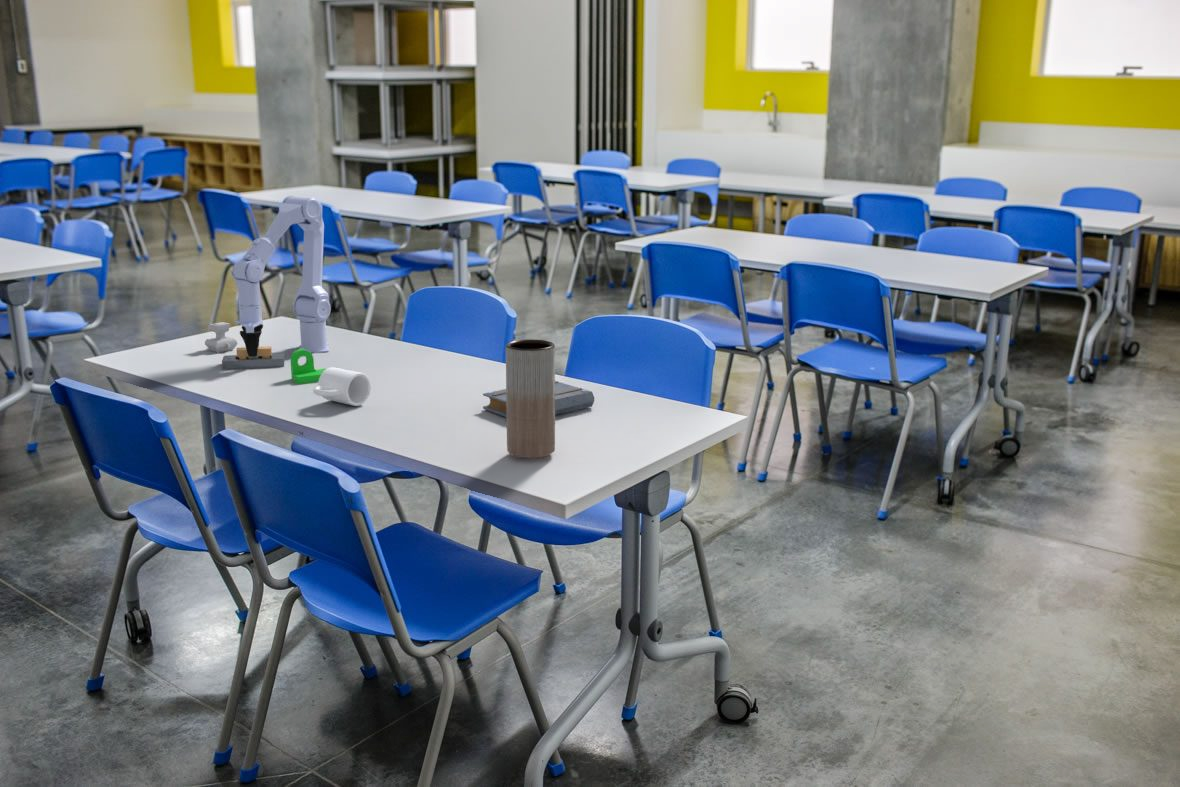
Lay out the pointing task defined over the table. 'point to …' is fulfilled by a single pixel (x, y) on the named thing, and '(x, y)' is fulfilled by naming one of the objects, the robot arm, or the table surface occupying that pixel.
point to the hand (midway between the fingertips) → (253, 353)
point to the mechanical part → (304, 368)
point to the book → (564, 399)
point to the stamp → (220, 338)
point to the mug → (343, 386)
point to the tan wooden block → (262, 351)
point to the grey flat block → (253, 362)
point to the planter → (530, 398)
